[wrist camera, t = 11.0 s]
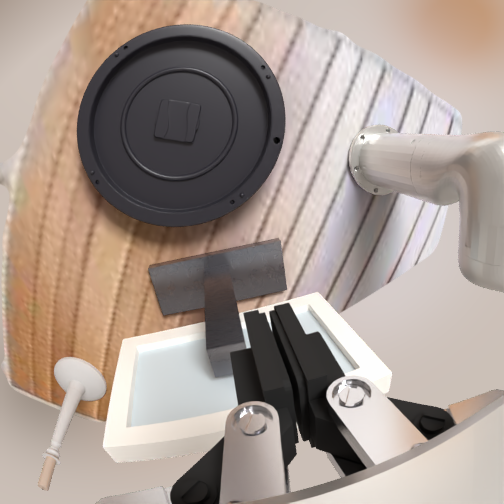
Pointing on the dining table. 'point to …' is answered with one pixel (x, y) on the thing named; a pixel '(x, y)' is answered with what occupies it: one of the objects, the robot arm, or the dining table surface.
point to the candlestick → (70, 405)
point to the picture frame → (204, 384)
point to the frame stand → (220, 291)
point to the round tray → (181, 125)
